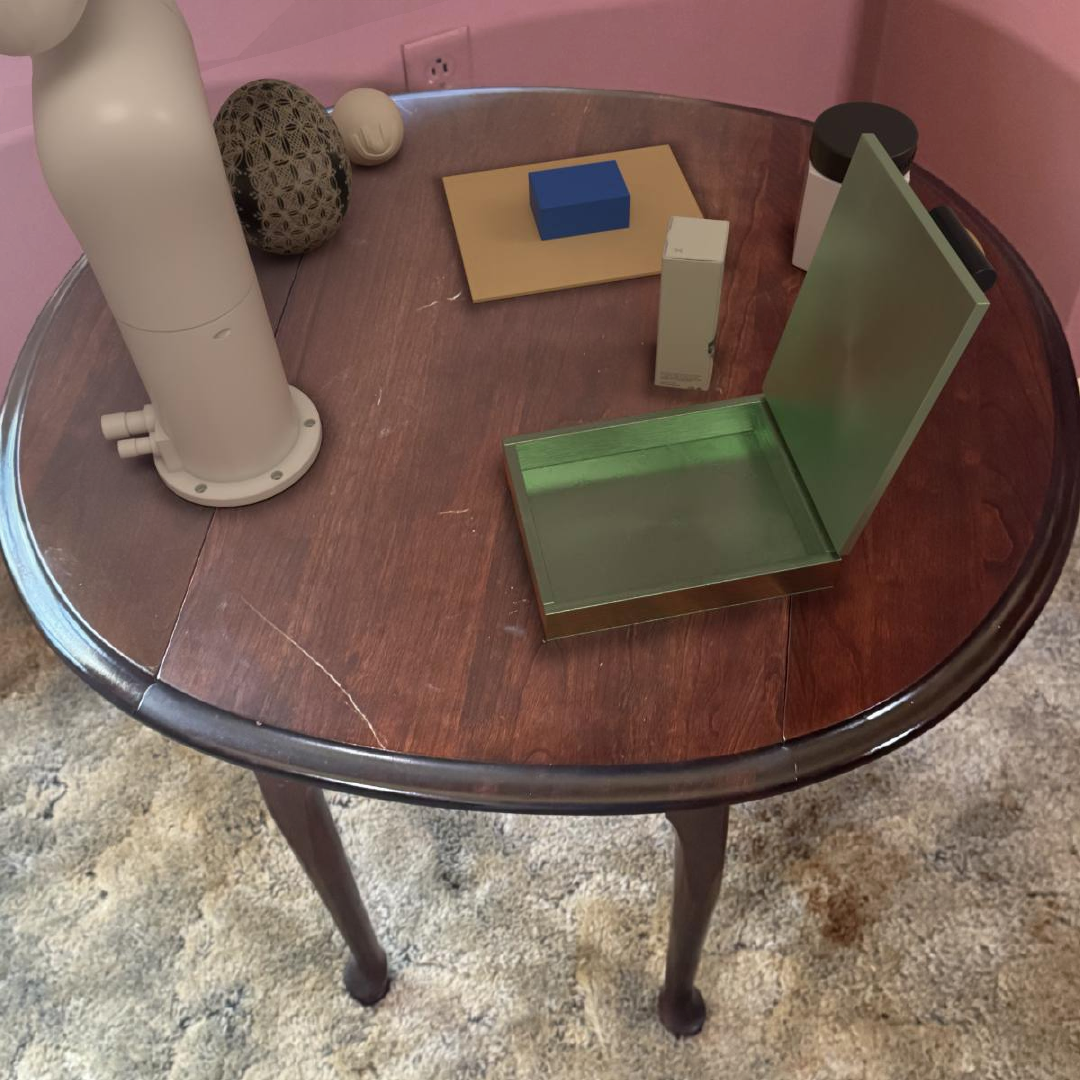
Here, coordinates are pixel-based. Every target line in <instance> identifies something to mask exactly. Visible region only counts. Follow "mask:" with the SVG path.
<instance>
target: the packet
mask: <svg viewBox="0 0 1080 1080" xmlns="http://www.w3.org/2000/svg"><path fill="white" fill-rule="evenodd" d="M528 177H529V198H530V207H531V210H532V213H533V216H534V219H535V222H536V225H537V228H538V231H539V234H540V238H541V240H542V241H545V240H551V239H558V238H564V237H571V236H577V235H584V234H591V233H597V232H604V231H610V230H617V229H623V228H629V222H630V193H629V191H628V188H627V186H626V184H625V181H624V179H623V177H622V174H621V172H620V169H619V167H618V165H617V162H616V160H611V161H604V162H597V163H590V164H584V165H577V166H570V167H563V168H556V169H549V170H543V171H536V172H529V173H528Z"/></svg>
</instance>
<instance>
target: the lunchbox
mask: <svg viewBox="0 0 1080 1080" xmlns="http://www.w3.org/2000/svg"><path fill="white" fill-rule="evenodd" d="M501 447H502V458H503V467H504V471H505V475H506V480H507V483H508V488H509V491H510V496H511V500H512V503H513V504H512V505H513V508H514V512H515V516H516V520H517V524H518V529H519V532H520V536H521V541H522V545H523V549H524V554H525V557H526V561H527V565H528V569H529V573H530V577H531V581H532V585H533V586H532V587H533V590H534V594H535V599H536V602H537V603H536V604H537V606H538V610H539V614H540V617H541V622H542V626H543V631H544V636H545V639H546V641H547V642H549V641H555V640H560V639H566V638H569V637H575V636H580V635H585V634H590V633H596V632H597V633H598V632H602V631H607V630H612V629H617V628H622V627H623V628H624V627H628V626H632V625H633V626H634V625H640V624H644V623H650V622H655V621H660V620H665V619H666V620H667V619H670V618H675V617H681V616H687V615H692V614H697V613H702V612H707V611H713V610H718V609H723V608H730V607H734V606H740V605H744V604H750V603H755V602H760V601H765V600H772V599H776V598H781V597H788V596H792V595H797V594H803V593H807V592H808V593H809V592H813V591H814V592H815V591H819V590H825V589H830V588H833V587H835V583H836V580H837V577H838V573H839V570H840V567H841V563H842V557H841V555H838V554H837V551H836V549H835V547H834V545H833V543H832V541H831V538H830V536H829V534H828V532H827V530H826V528H825V525H824V523H823V521H822V519H821V517H820V515H819V512H818V510H817V508H816V506H815V504H814V502H813V499H812V497H811V495H810V493H809V491H808V489H807V486H806V484H805V482H804V480H803V478H802V475H801V473H800V471H799V469H798V467H797V465H796V462H795V460H794V458H793V456H792V454H791V452H790V449H789V447H788V445H787V443H786V441H785V439H784V436H783V434H782V432H781V430H780V428H779V426H778V423H777V421H776V419H775V417H774V415H773V413H772V410H771V408H770V406H769V404H768V402H767V400H766V397H765V395H764V393H763V392H762V393H757V394H750V395H745V396H739V397H734V398H726V399H721V400H716V401H715V400H714V401H710V402H704V403H698V404H692V405H686V406H685V405H684V406H680V407H675V408H669V409H662V410H657V411H650V412H645V413H639V414H634V415H628V416H622V417H614V418H610V419H603V420H598V421H593V422H586V423H581V424H575V425H568V426H562V427H556V428H550V429H545V430H540V431H533V432H528V433H521V434H515V435H510V436H504V437H503V436H502V437H501Z"/></svg>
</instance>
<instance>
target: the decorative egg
mask: <svg viewBox="0 0 1080 1080" xmlns="http://www.w3.org/2000/svg"><path fill="white" fill-rule="evenodd" d="M212 123H213V127H214V131H215V134H216V138H217V142H218V146H219V150H220V154H221V157H222V161H223V166H224V170H225V174H226V178H227V181H228V184H229V187H230V191H231V194H232V197H233V201H234V204H235V207H236V210H237V214H238V217H239V220H240V223H241V227H242V230H243V233H244V237H245V240H246V243H247V242H248V243H249V244H251V245H252V246H254V247H256V248H257V249H260V250H262V251H264V252H267V253H271V254H276V255H283V256H292V255H301V254H305V253H308V252H310V251H313V250H316V249H318V248H319V247H321V246H322V245H324V244H325V243H326V242H328V241H329V240H330V239H331V238H332V237H333V236H334V235H335V234H336V233H337V232H338V230H339V228H340V227H341V226H342V224H343V223H344V220H345V218H346V216H347V213H348V212H349V211H348V210H349V209H350V204H351V200H352V193H353V172H352V168H351V167H352V166H351V161H350V160H349V156H348V153H347V149H346V146H345V144H344V141H343V138H342V136H341V134H340V132H339V130H338V128H337V126H336V124H335V122H334V121H333V119H332V118H331V114H330V113H329V112H328V111H327V108H325V106H324V105H322V103H321V102H320V101H318V100H317V99H316V98H315V97H314V96H313V95H312V94H311V93H309V92H308V91H307V90H305V89H303V88H302V87H300V86H298V85H297V84H296V83H292V82H290V81H286V80H282V79H279V78H260V79H255V80H252V81H249V82H247V83H244V84H243V85H242V86H240V87H238V88H237V89H236V90H234V91H233V92H232V93H231V94H230V95H229V96H228V97H227V98H226V100H225V101H224V102H223V104H222V105H221V106H220V108H219V110H218V112H217V114H216V116H215V119H214V120H213V122H212Z"/></svg>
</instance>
